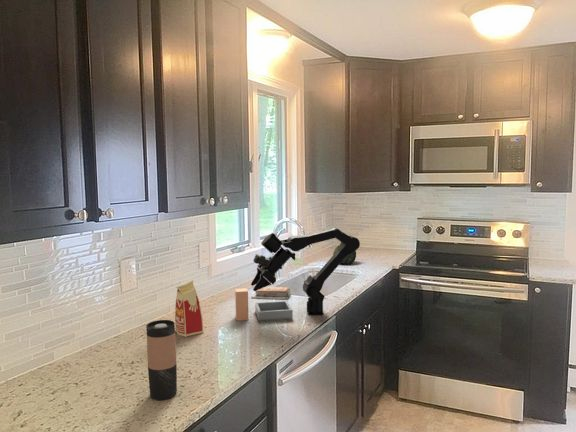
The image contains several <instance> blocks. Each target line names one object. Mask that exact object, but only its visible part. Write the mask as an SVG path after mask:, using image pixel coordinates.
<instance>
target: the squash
mask: <svg viewBox="0 0 576 432" xmlns="http://www.w3.org/2000/svg"><path fill="white" fill-rule="evenodd" d="M339 246H340V244H339V245H337V246H336V247H335V249H334V251H333V254H332V256H333V255H334V254H335V253H336V252H337V250H338V248H339ZM356 258H357V250H356V251H355V252H353V253H352V254H350V255H349V256H347V257H345V259H344V260H343V261H342V262H341V263H340V265H341V264H343V265H346V266H347V265H351V264H354V262H356Z"/></svg>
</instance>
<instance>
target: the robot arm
mask: <svg viewBox="0 0 576 432" xmlns="http://www.w3.org/2000/svg"><path fill="white" fill-rule="evenodd" d="M333 239H336V240H337V241H338V242H340V244H339V245H340V246H339V245H338V246H339V248H338V250H337V252H336V253H335V254H334V255H333V254H332V256H331V258H330V259H329V260H328V261H327V262H326V263H325V264H324V265H323V267H322V268H320V269H319V271H318V272H317V273H316V274H315V275H313V276H312V275H311V274H310V275H308V277H307V279H305V280H304V281H303V284H302V291H303V293H305V294H306V295H307V301H306V313H307V315H309V316H310V315H311V316H312V315H314V316H316V315H324V309H323V308H324V299H325V295H324V294H323V293H322V292H321V290H322V289H323V286H324V283H325V282H326V280H327V279H328V278H329V277H330V276H331V275H332V274H333V272H334V271H335V270H336V269H337V268H338V267H339V266H340V265H341V262H342V261H343V260H344V259H345V257H347V256H349V255H350V254H352V253H353V252H355V251H356V252H357V250H358V249H359V248H360V247H361V244H360V243H361V242H360V240H359V239H358V238H357V237H355V236H352V235H348V234H346V233H345V232H343V231H342V230H340V229H339V228H337V227H332V228H330V229H327V230H322V231H319V232H315V233H310V234H307V235H292V236H289V237H288V238H285V239H282V240H280V238H279V237H277V235H276V234H275V233H274V232H271V233H270V234H269V235H268V236H266V237H264V239H263V240H262V241H261V245H262V247H264V248H265V249H266V250H267V252H269V253H270V254H273V256H269V257H268V258H267V257H266V256H265V255H261V254H258V253H255V256H254V258H253V260H252V261H253V263H255V264H257V267H256V274H255V275H254V278H253V279H252V281H251V284H250V285H251V286H252V287H253V286H254V287H253V288H252V291H253V292H256V291H257V290H259V289H261V288H264V287H270V286H272V285H274V284H275V283H276V282H277V277H276V274H277V272H278V271H279V270H282V269H283V266H284V265H285V264H286V263H287V262H288V261H289V260H290V259H292V260H293V261H296V253H295V252H299V251H301V250H303V249H305V248H306V247H308V246H311V245H314V244H317V243H322V242H325V241H328V240H329V241H330V240H333ZM282 246H283V247H282ZM284 248H285V249H284ZM291 251H293V252H291Z"/></svg>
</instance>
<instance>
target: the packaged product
mask: <svg viewBox="0 0 576 432" xmlns="http://www.w3.org/2000/svg"><path fill="white" fill-rule="evenodd" d="M290 289H291V288H290V287H287V286H285V287H284V286H281V287H280V286H266V287H264V288H261V289H259V290H257V291H254V293H253V294H252V295H251V299H264V300H289V298H290V296H291V295H292V293H291V290H290Z"/></svg>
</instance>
